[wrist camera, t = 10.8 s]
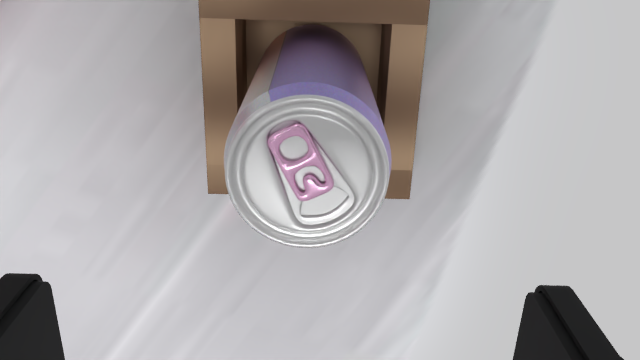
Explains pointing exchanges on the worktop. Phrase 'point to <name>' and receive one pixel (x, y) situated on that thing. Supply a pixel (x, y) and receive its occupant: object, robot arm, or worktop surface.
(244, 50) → the holder
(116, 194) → the worktop surface
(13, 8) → the worktop surface
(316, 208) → the beverage can
